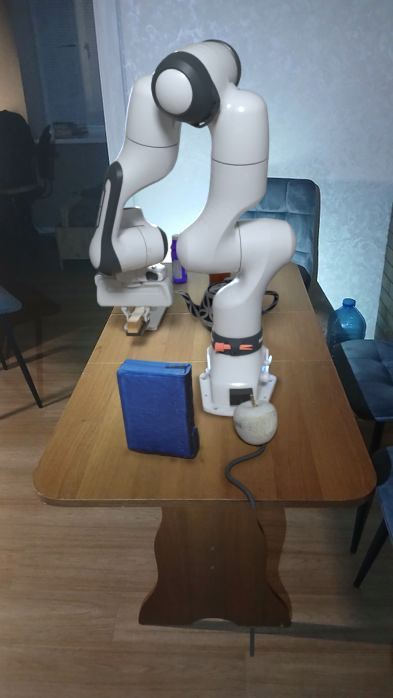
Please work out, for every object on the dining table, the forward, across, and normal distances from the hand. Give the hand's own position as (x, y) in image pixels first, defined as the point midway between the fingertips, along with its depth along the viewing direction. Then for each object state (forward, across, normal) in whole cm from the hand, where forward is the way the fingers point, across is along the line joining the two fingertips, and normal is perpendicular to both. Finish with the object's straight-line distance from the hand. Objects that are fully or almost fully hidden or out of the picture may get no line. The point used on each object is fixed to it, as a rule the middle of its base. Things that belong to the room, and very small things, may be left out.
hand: (137, 320), depth 135 cm
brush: (+2, 0, 0) cm, 2 cm away
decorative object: (+11, +33, -36) cm, 50 cm away
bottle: (+8, 0, +58) cm, 59 cm away
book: (+11, +15, -42) cm, 45 cm away
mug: (+9, +19, +45) cm, 49 cm away
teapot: (+9, +22, +19) cm, 30 cm away
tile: (+9, -4, +24) cm, 26 cm away
